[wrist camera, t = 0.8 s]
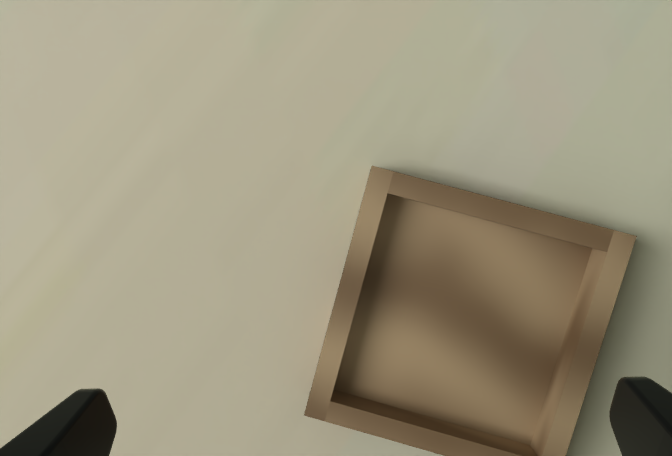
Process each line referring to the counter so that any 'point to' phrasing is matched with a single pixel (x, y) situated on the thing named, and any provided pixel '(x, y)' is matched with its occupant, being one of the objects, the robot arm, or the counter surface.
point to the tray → (466, 321)
